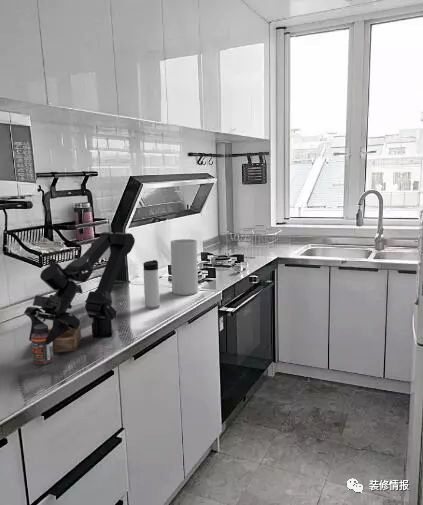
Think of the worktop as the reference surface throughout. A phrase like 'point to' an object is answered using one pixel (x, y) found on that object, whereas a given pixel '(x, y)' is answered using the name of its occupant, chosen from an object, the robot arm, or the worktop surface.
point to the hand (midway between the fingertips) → (38, 342)
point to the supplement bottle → (41, 345)
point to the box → (67, 340)
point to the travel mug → (151, 284)
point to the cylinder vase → (184, 266)
